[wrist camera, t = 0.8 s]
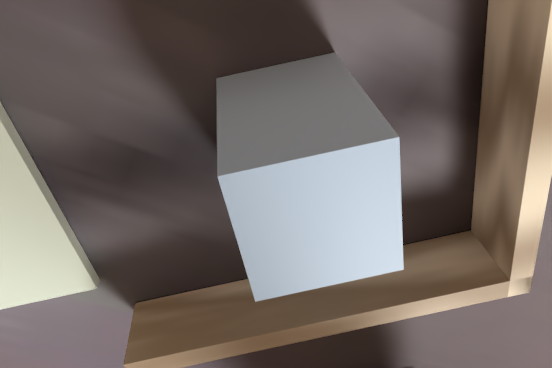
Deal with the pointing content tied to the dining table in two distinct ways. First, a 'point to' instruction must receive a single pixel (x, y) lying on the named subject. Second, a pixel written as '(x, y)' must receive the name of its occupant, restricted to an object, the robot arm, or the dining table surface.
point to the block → (308, 176)
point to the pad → (34, 232)
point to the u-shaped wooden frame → (416, 256)
